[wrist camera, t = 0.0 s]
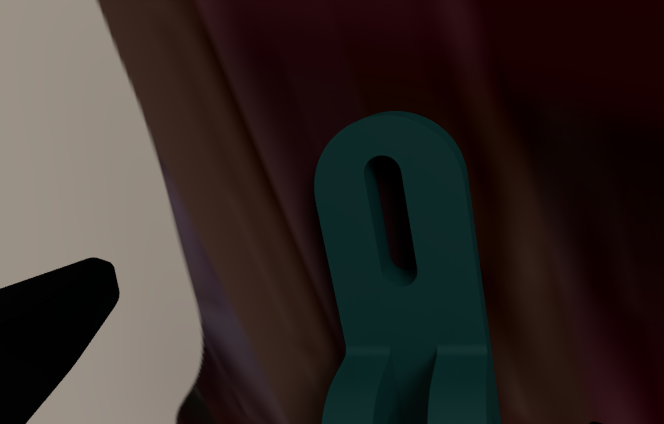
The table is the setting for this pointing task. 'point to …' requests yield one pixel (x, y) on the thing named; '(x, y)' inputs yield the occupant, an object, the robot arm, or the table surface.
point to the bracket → (405, 281)
